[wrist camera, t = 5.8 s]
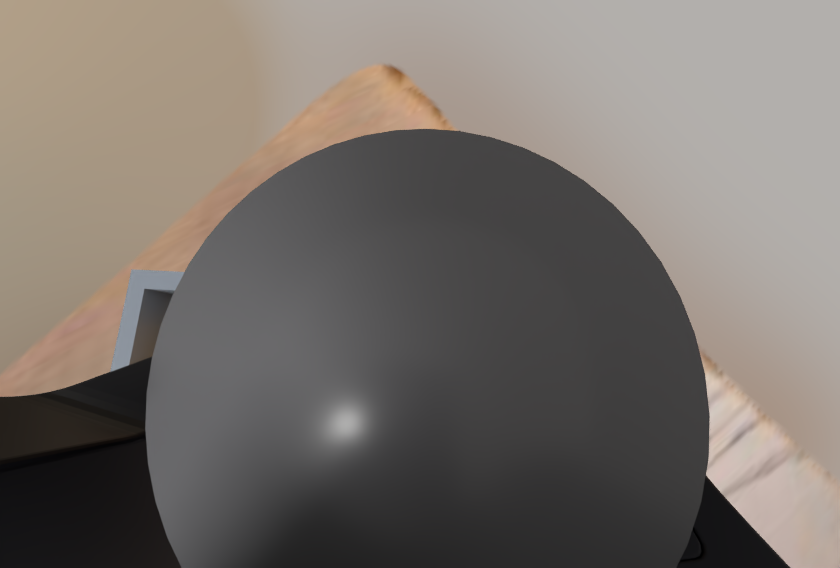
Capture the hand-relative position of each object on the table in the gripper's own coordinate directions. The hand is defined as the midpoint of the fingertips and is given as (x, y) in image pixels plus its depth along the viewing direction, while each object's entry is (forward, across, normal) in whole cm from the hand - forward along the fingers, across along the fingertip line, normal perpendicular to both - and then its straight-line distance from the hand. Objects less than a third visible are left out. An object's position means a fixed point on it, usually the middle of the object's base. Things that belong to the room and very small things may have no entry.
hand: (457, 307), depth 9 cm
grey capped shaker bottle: (+4, 0, +6) cm, 7 cm away
